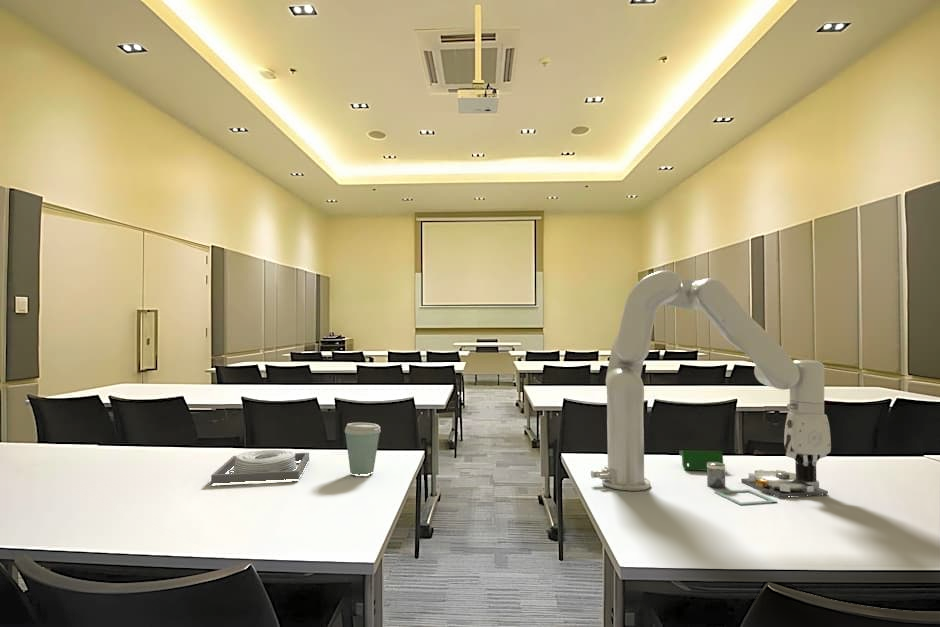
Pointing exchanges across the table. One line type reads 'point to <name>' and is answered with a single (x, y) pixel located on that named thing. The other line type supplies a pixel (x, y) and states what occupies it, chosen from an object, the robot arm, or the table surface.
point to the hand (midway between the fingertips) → (805, 480)
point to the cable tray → (258, 476)
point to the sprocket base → (783, 493)
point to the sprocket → (783, 480)
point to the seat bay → (744, 502)
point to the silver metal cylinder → (716, 475)
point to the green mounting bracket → (699, 459)
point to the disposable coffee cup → (362, 446)
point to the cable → (264, 461)
